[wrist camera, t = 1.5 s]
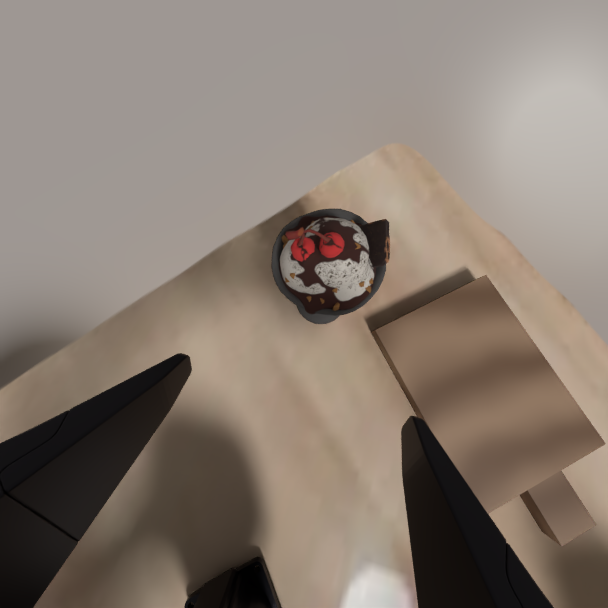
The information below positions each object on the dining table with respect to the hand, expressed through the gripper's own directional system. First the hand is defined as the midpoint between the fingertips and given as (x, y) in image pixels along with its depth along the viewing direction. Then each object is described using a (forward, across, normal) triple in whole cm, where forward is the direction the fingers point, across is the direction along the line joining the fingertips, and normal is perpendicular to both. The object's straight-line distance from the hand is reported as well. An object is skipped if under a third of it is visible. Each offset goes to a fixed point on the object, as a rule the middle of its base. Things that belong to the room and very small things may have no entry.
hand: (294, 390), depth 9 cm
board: (+10, -16, +8) cm, 21 cm away
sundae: (+14, 0, +4) cm, 15 cm away
